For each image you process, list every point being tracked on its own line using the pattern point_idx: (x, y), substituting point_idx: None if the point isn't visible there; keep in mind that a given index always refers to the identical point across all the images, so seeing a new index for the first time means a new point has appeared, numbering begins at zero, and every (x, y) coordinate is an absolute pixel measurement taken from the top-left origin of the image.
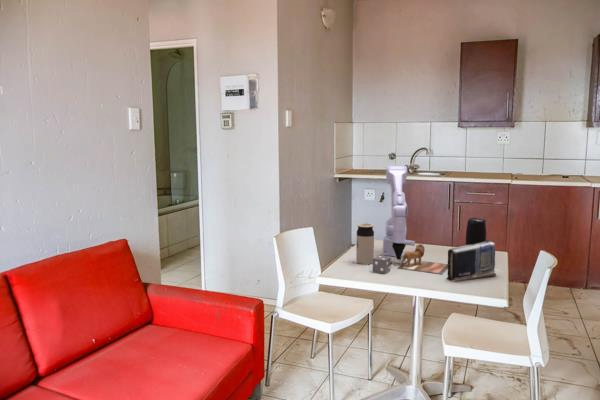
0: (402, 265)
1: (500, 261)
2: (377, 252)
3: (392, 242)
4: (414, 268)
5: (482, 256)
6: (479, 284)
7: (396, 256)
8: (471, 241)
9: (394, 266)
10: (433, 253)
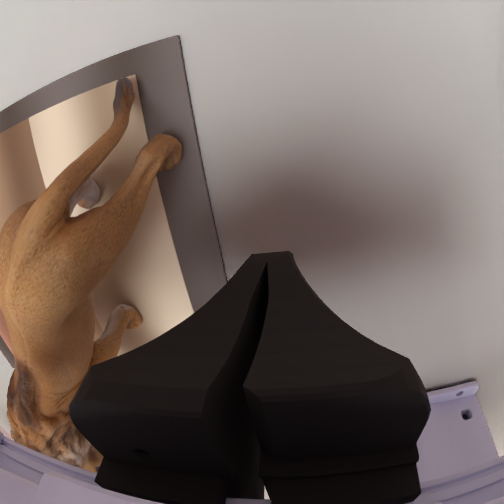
0: (116, 89)
1: (8, 431)
2: (501, 400)
3: (436, 498)
4: (38, 156)
5: None
6: None
7: (289, 266)
8: None
9: (249, 91)
10: None
